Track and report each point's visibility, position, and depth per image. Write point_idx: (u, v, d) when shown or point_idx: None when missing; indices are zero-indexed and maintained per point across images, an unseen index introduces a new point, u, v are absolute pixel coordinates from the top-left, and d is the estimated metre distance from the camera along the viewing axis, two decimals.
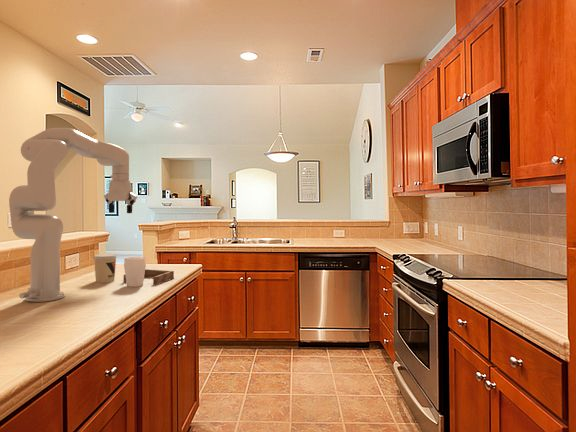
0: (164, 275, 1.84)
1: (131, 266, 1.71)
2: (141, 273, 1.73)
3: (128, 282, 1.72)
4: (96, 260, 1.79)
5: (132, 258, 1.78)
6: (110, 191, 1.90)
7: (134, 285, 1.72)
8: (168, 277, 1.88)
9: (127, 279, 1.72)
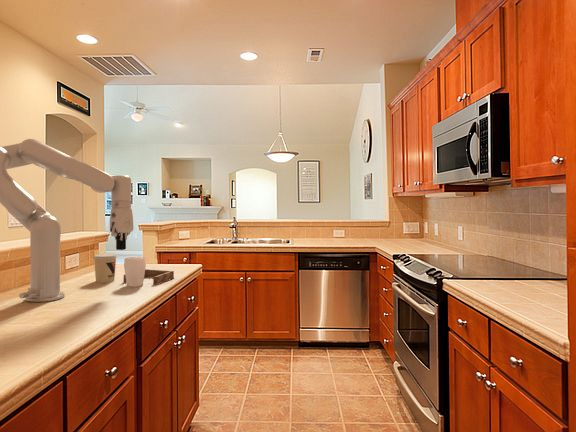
0: (164, 275, 1.84)
1: (131, 266, 1.71)
2: (141, 273, 1.73)
3: (128, 282, 1.72)
4: (96, 260, 1.79)
5: (132, 258, 1.78)
6: (121, 222, 1.61)
7: (134, 285, 1.72)
8: (168, 277, 1.88)
9: (127, 279, 1.72)
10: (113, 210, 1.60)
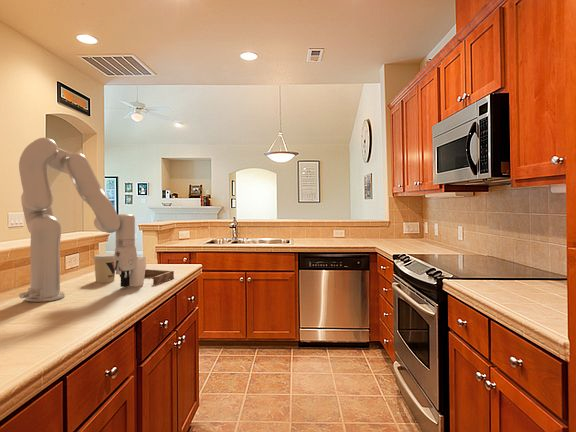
0: (164, 275, 1.84)
1: None
2: (141, 273, 1.73)
3: None
4: (96, 260, 1.79)
5: None
6: (125, 260, 1.64)
7: (134, 285, 1.72)
8: (168, 277, 1.88)
9: None
10: (117, 249, 1.63)
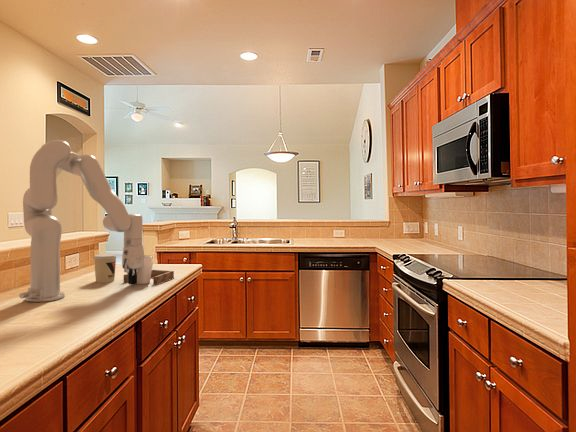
0: (164, 275, 1.84)
1: None
2: (148, 271, 1.79)
3: None
4: (96, 260, 1.79)
5: None
6: (133, 259, 1.69)
7: (141, 282, 1.78)
8: (168, 277, 1.88)
9: None
10: (125, 248, 1.69)
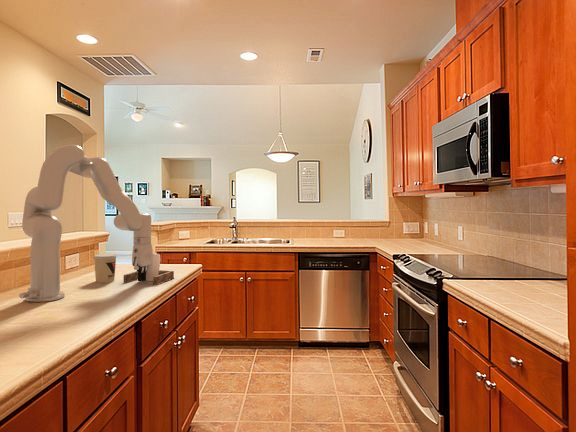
0: (164, 275, 1.84)
1: None
2: (156, 268, 1.86)
3: None
4: (96, 260, 1.79)
5: None
6: (143, 257, 1.76)
7: (150, 279, 1.85)
8: (168, 277, 1.88)
9: None
10: (135, 246, 1.76)
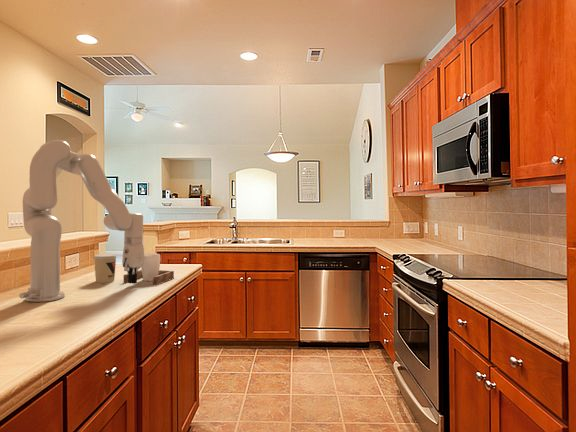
0: (164, 275, 1.84)
1: (147, 262, 1.83)
2: (156, 268, 1.86)
3: (144, 277, 1.85)
4: (96, 260, 1.79)
5: (147, 254, 1.91)
6: (134, 258, 1.70)
7: (150, 279, 1.85)
8: (168, 277, 1.88)
9: (143, 274, 1.85)
10: (126, 246, 1.69)
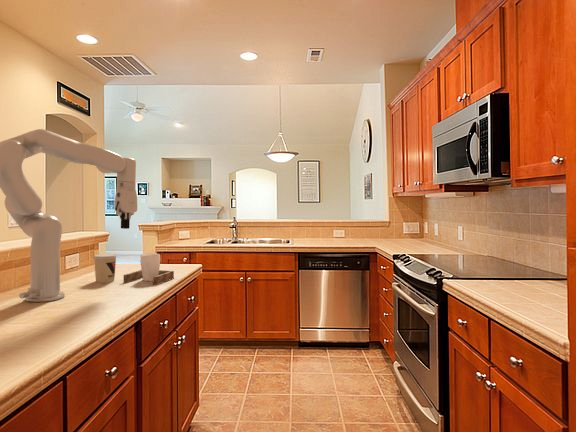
0: (164, 275, 1.84)
1: (147, 262, 1.83)
2: (156, 268, 1.86)
3: (144, 277, 1.85)
4: (96, 260, 1.79)
5: (147, 254, 1.91)
6: (126, 202, 1.69)
7: (150, 279, 1.85)
8: (168, 277, 1.88)
9: (143, 274, 1.85)
10: (118, 190, 1.68)
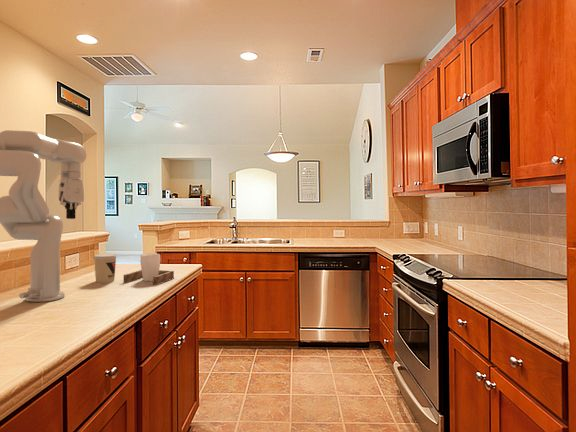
0: (164, 275, 1.84)
1: (147, 262, 1.83)
2: (156, 268, 1.86)
3: (144, 277, 1.85)
4: (96, 260, 1.79)
5: (147, 254, 1.91)
6: (70, 191, 1.68)
7: (150, 279, 1.85)
8: (168, 277, 1.88)
9: (143, 274, 1.85)
10: (62, 180, 1.67)
